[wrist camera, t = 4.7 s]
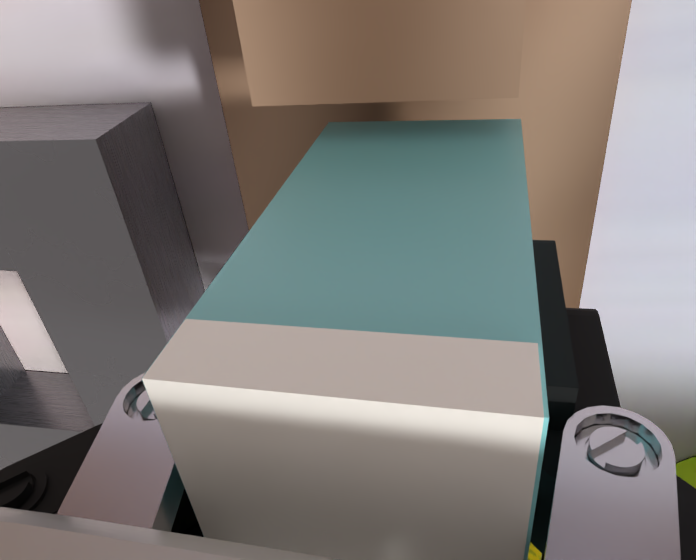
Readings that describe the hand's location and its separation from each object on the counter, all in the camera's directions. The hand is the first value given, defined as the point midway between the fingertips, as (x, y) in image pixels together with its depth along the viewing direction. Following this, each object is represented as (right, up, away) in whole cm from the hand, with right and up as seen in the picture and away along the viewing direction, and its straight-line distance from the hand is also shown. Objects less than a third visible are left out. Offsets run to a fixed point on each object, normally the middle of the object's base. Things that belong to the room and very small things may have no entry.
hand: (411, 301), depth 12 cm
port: (-13, -1, +11) cm, 18 cm away
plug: (+1, +1, +2) cm, 2 cm away
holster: (+1, +4, +5) cm, 6 cm away
